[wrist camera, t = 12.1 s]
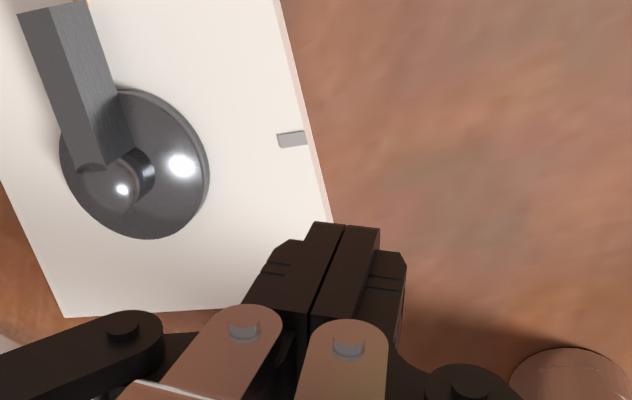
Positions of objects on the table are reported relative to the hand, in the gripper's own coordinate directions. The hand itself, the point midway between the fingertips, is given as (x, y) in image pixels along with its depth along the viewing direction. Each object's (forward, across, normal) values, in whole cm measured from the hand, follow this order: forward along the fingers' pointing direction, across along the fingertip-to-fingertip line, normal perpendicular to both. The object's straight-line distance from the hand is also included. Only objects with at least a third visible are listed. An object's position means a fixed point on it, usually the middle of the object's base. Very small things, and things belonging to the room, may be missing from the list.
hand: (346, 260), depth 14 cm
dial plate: (+29, +22, +10) cm, 38 cm away
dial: (+27, +22, +7) cm, 36 cm away
